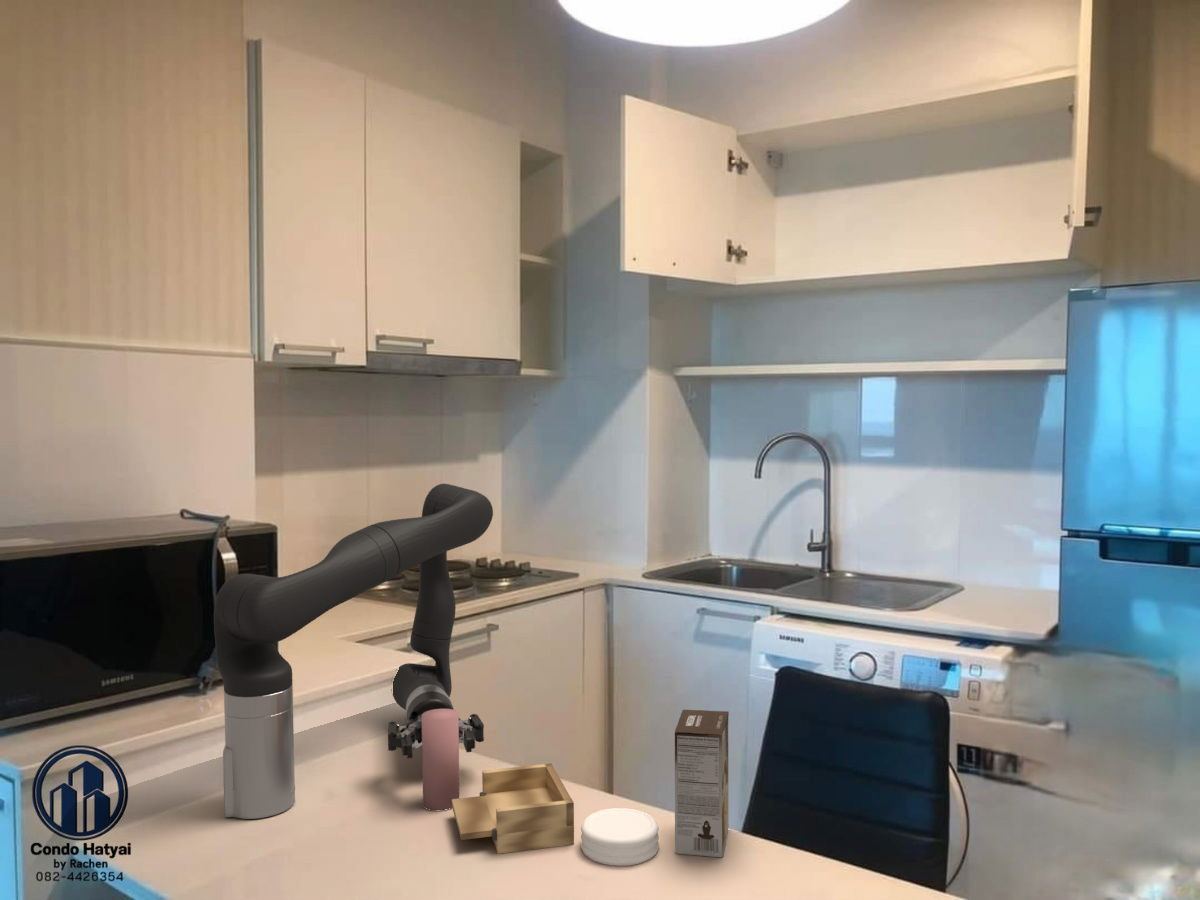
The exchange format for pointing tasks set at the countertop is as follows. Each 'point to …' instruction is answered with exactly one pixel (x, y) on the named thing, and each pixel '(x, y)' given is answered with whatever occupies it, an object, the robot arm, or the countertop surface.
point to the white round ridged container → (619, 836)
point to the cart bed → (518, 809)
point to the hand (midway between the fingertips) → (439, 748)
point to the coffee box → (701, 783)
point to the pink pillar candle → (440, 758)
